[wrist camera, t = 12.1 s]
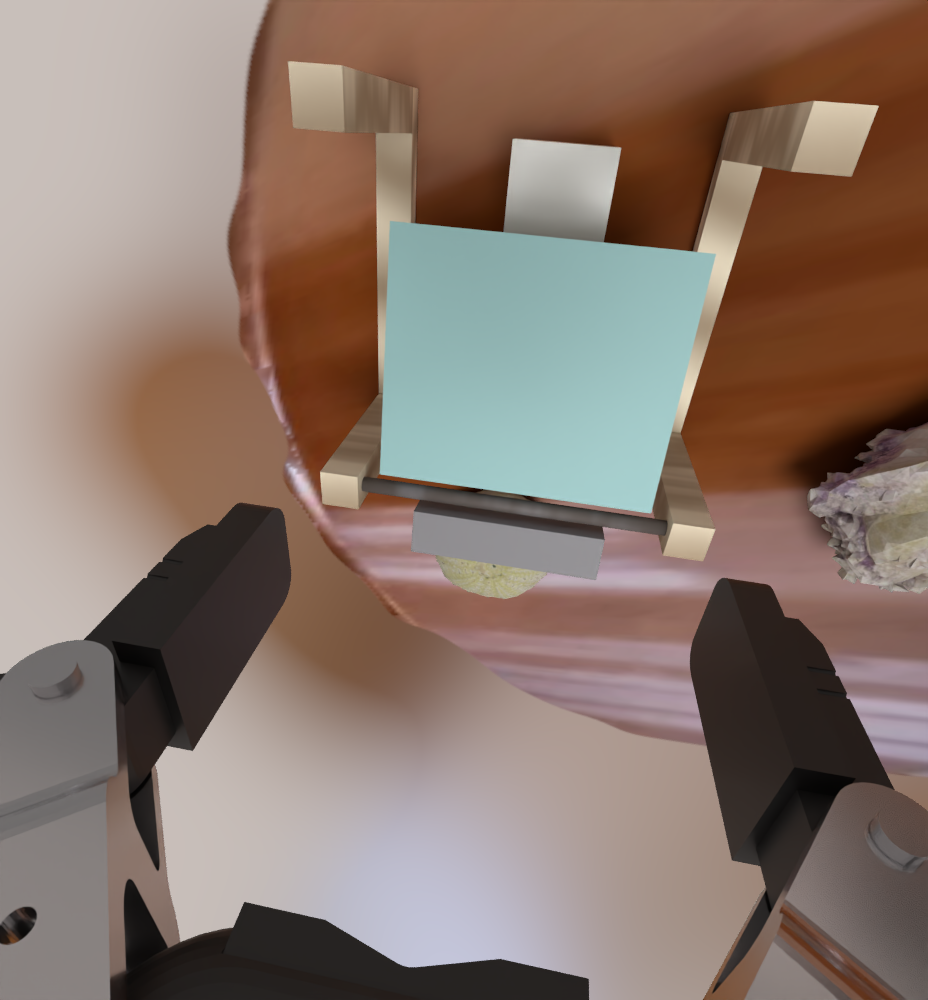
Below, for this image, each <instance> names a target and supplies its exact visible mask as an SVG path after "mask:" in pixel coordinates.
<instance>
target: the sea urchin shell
mask: <svg viewBox="0 0 928 1000" xmlns="http://www.w3.org/2000/svg"><path fill="white" fill-rule="evenodd" d="M477 493H481V494H488V495H495V496H502V497H509V498H515V499H522V500H527V499H526V498H524V497H523V496H521V495H519V494H513V493H506V492H499V491H493V490H488V491H485V490H483V491H481V492H477ZM529 501H530V500H529ZM472 508H473V507H472ZM499 512H500V511H499ZM506 513H507V512H506ZM533 517H534V516H533ZM436 559H437V562H438V563H439V565H440V567H441V569H442V572H443V573H444V575H445V577H446V578H447V579H448V580H450V581H451V582H452V583H453V585H457V586H459V587H461V588H462V589H465V590H467V592H473V593H477V594H480V595H483V596H486V597H497V598H503V599H507V598H511V597H516V596H518V595H520V594H522V593H524V592H525V591H527V590H528V589H531V588H532V587H534V586H535V584H537V582H538V581H539V580H540V579H541V578H543V577H544V576H545V575H546V574H547V572H540V571H534V570H528V569H521V568H515V567H509V566H502V565H496V564H490V563H483V562H477V561H470V560H464V559H458V558H451V557H445V556H439V555H436Z"/></svg>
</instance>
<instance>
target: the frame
mask: <svg viewBox="0 0 928 1000" xmlns="http://www.w3.org/2000/svg"><path fill="white" fill-rule="evenodd" d="M288 68H289V80H290V93H291V106H292V119H293V128H298V129H310V130H321V131H333V132H344V133H376V200H377V283H378V365H379V394H378V395H377V397H376V398H375V399H374V401H373V402H372V403H371V405H370V406H369V407H368V409H367V410H366V411H365V413H364V414H363V415H362V417H361V418H360V419H359V421H358V422H357V423H356V425H355V426H354V427H353V429H352V430H351V431H350V433H349V434H348V435H347V437H346V438H345V439H344V441H343V442H342V443H341V445H340V446H339V447H338V449H337V450H336V451H335V453H334V454H333V455H332V457H331V458H330V459H329V461H328V462H327V463H326V465H325V466H324V467H323V469H322V470H321V471H320V476H321V489H322V501H323V504H327V505H334V506H340V507H347V508H353V509H359V508H360V506H361V504H362V502H363V501H364V499H365V497H366V495H367V494H368V492H371V493H378V494H385V495H392V496H398V497H405V498H412V499H419V500H425V501H432V502H439V503H446V504H452V505H459V506H466V507H473V508H479V509H486V510H493V511H500V512H507V513H513V514H520V515H527V516H534V517H540V518H547V519H554V520H561V521H567V522H574V523H581V524H588V525H594V526H601V527H608V528H615V529H621V530H628V531H635V532H642V533H648V534H655V535H659V540H660V545H661V549H662V554H663V555H664V556H671V557H678V558H684V559H691V560H697V561H703V560H704V558H705V555H706V552H707V550H708V547H709V545H710V542H711V539H712V537H713V534H714V532H715V527H714V524H713V522H712V519H711V516H710V513H709V511H708V508H707V505H706V502H705V500H704V497H703V494H702V491H701V489H700V486H699V483H698V480H697V478H696V475H695V472H694V469H693V467H692V464H691V461H690V458H689V456H688V453H687V450H686V447H685V445H684V442H683V439H682V436H681V429H682V426H683V423H684V420H685V416H686V413H687V410H688V407H689V403H690V400H691V397H692V394H693V391H694V387H695V384H696V381H697V378H698V374H699V371H700V368H701V365H702V361H703V358H704V355H705V352H706V348H707V345H708V342H709V339H710V335H711V332H712V329H713V326H714V323H715V319H716V316H717V313H718V310H719V306H720V303H721V300H722V297H723V293H724V290H725V287H726V284H727V280H728V277H729V274H730V271H731V267H732V264H733V261H734V258H735V255H736V251H737V248H738V245H739V242H740V238H741V235H742V232H743V229H744V225H745V222H746V219H747V216H748V212H749V209H750V206H751V203H752V199H753V196H754V193H755V190H756V187H757V183H758V180H759V177H760V174H761V170H762V167H768V168H774V169H780V170H786V171H793V172H805V173H816V174H828V175H839V176H851V177H852V174H853V171H854V169H855V166H856V164H857V161H858V158H859V156H860V153H861V151H862V148H863V145H864V143H865V140H866V138H867V135H868V132H869V130H870V127H871V125H872V122H873V120H874V117H875V114H876V112H877V109H878V107H879V106H874V105H861V104H848V103H834V102H821V101H811V102H804V103H797V104H790V105H783V106H776V107H769V108H762V109H755V110H748V111H741V112H734V113H730V115H729V118H728V122H727V126H726V129H725V133H724V137H723V140H722V144H721V148H720V152H719V155H718V159H717V163H716V166H715V170H714V174H713V178H712V181H711V185H710V189H709V192H708V196H707V200H706V204H705V207H704V211H703V215H702V218H701V222H700V226H699V229H698V233H697V237H696V241H695V244H694V248H693V252H702V253H712V254H716V256H715V260H714V264H713V268H712V272H711V276H710V280H709V284H708V288H707V292H706V296H705V300H704V304H703V308H702V312H701V316H700V320H699V324H698V328H697V332H696V336H695V340H694V344H693V348H692V352H691V356H690V360H689V364H688V368H687V372H686V376H685V380H684V384H683V388H682V392H681V396H680V400H679V404H678V408H677V412H676V416H675V420H674V424H673V428H672V432H671V436H670V440H669V444H668V448H667V452H666V456H665V460H664V464H663V468H662V472H661V476H660V480H659V484H658V488H657V492H656V496H655V500H654V504H653V507H652V508H653V512H654V517H655V519H653V518H646V517H639V516H632V515H626V514H619V513H612V512H605V511H598V510H591V509H584V508H577V507H571V506H564V505H557V504H550V503H543V502H536V501H529V500H522V499H515V498H509V497H502V496H495V495H488V494H481V493H474V492H467V491H460V490H454V489H447V488H440V487H433V486H426V485H419V484H412V483H405V482H399V481H392V480H385V479H378V478H377V476H378V475H379V473H380V457H381V432H382V407H383V382H384V357H385V331H386V306H387V281H388V256H389V231H390V221H396V222H406V223H415V220H416V174H417V128H418V88H415V87H411V86H408V85H405V84H402V83H398V82H395V81H392V80H388V79H385V78H382V77H379V76H375V75H372V74H369V73H365V72H362V71H359V70H356V69H352V68H349V67H346V66H343V65H331V64H317V63H304V62H291V61H288Z"/></svg>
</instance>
